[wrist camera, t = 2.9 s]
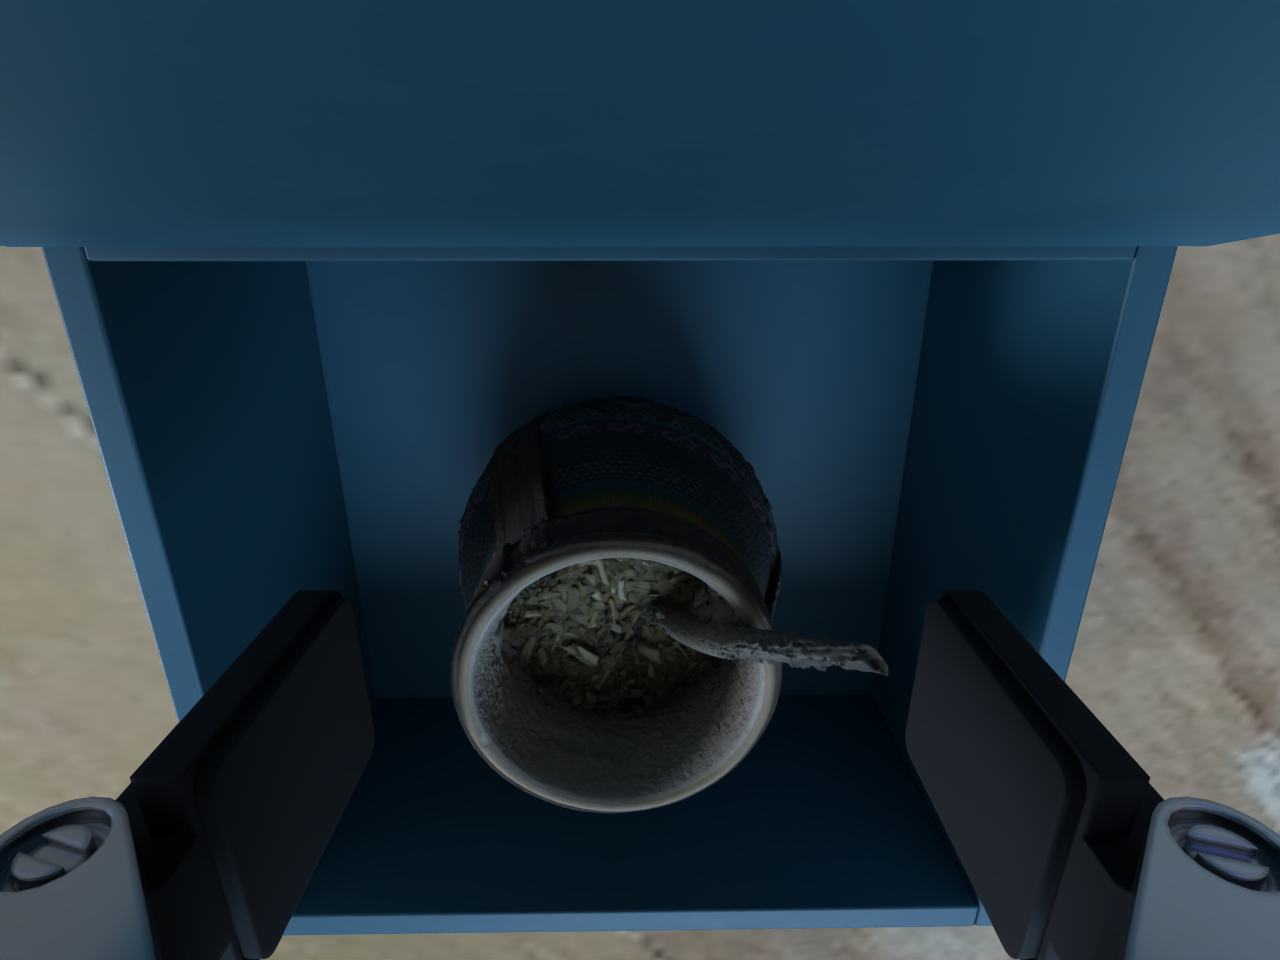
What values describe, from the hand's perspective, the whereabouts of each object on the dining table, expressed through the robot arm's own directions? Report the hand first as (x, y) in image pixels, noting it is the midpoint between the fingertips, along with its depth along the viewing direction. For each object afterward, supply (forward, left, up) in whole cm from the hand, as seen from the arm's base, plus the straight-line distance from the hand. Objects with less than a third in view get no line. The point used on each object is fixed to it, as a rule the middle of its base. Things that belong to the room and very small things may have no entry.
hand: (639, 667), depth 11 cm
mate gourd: (0, 0, -8) cm, 8 cm away
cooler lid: (+8, 0, +7) cm, 10 cm away
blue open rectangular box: (0, 0, -9) cm, 9 cm away
